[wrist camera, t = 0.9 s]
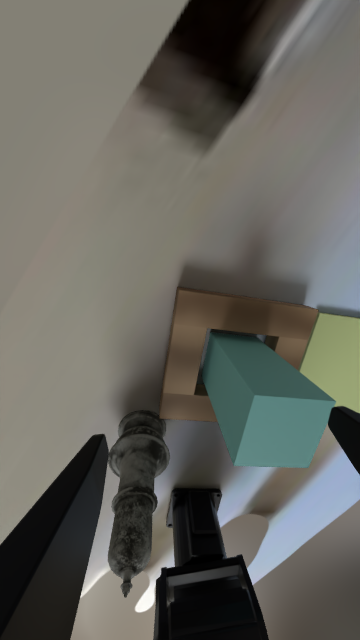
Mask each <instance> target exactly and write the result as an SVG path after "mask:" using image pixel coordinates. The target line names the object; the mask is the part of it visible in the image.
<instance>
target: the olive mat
mask: <svg viewBox="0 0 360 640" xmlns="http://www.w3.org/2000/svg"><path fill="white" fill-rule="evenodd" d="M298 371H299V372H300V373H302V374H303V375H304V376H305V377H307V378H308V379H309V380H310V381H312V382H313V383H314V384H315V385H317V386H318V387H319V388H320V389H322V390H323V391H324V392H325V393H327V394H328V395H329V396H330V397H332V398H333V399H334V400H335V401H336V404H335V406H334V407H336V406H345V407H347V408H349V409H351V410H353V411H356V412H358V413H360V318H356V317H349V316H342V315H334V314H327V313H320V312H318V313H317V316H316V319H315V322H314V325H313V328H312V331H311V334H310V336H309V339H308V342H307V345H306V348H305V351H304V354H303V357H302V360H301V362H300V365H299V368H298Z"/></svg>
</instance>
